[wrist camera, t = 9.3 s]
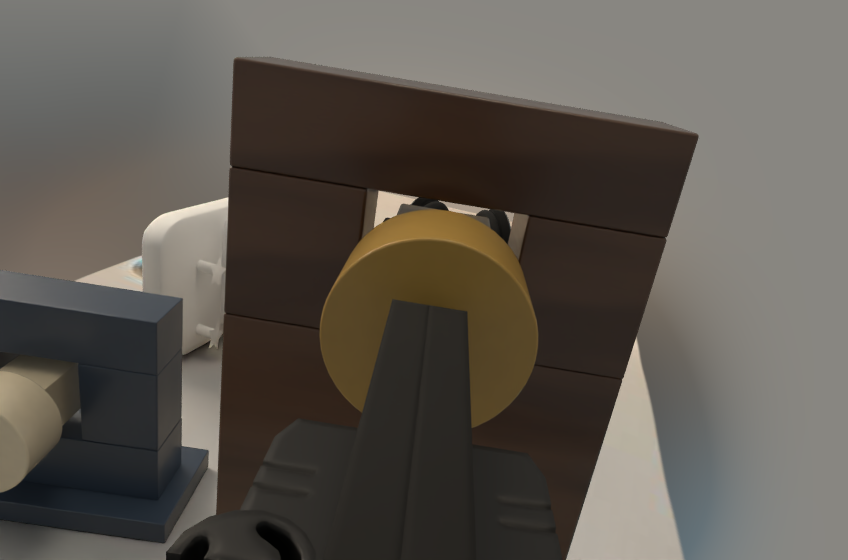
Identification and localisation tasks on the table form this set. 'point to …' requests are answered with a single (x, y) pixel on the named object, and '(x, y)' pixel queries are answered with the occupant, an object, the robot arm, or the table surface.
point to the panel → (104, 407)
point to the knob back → (33, 412)
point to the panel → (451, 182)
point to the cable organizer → (190, 267)
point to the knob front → (433, 302)
